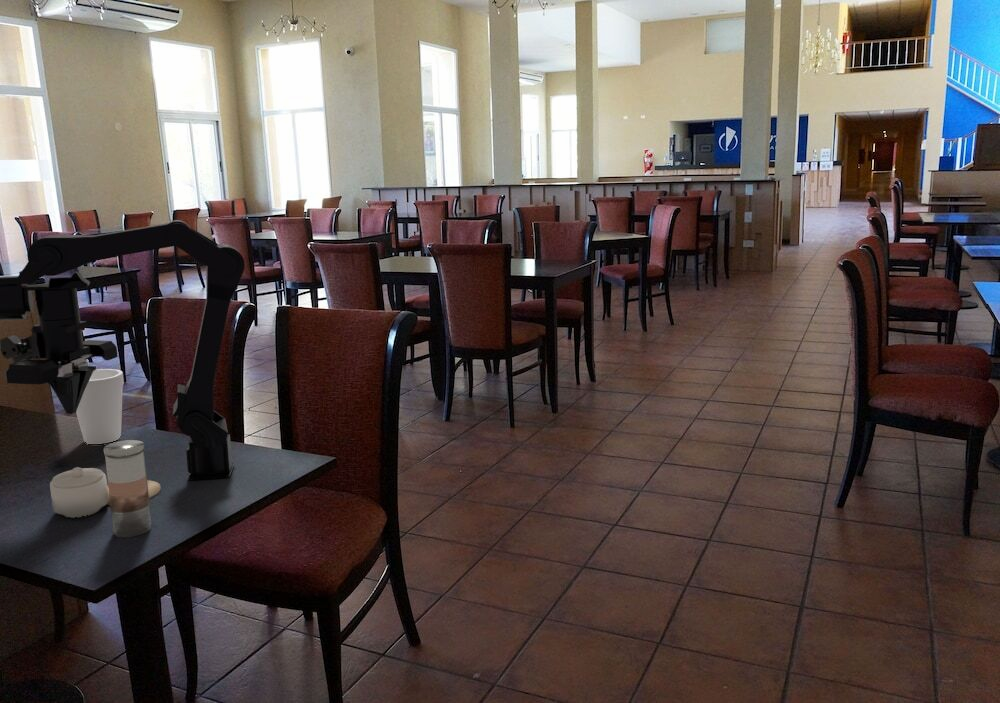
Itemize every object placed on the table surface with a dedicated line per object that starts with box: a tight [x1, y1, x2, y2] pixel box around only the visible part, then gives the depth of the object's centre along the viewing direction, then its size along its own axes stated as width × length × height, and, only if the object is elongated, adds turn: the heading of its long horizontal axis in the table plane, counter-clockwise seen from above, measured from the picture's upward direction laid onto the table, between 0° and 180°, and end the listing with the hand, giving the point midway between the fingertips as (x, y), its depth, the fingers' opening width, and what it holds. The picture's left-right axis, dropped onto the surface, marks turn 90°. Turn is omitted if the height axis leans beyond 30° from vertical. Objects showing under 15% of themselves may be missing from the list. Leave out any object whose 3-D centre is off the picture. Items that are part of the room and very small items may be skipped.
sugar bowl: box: [49, 466, 109, 519], centre depth 122 cm, size 8×8×7 cm
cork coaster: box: [105, 479, 162, 507], centre depth 129 cm, size 10×10×1 cm
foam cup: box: [75, 368, 125, 445], centre depth 154 cm, size 10×9×13 cm
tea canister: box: [103, 439, 152, 538], centre depth 115 cm, size 5×5×13 cm
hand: (71, 413), depth 128 cm, fingers closed
